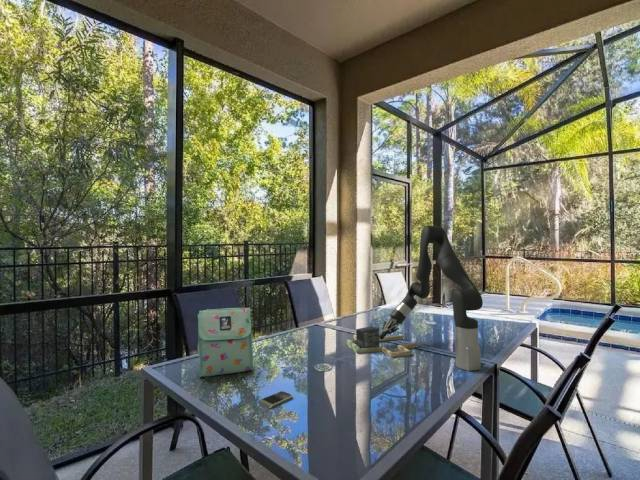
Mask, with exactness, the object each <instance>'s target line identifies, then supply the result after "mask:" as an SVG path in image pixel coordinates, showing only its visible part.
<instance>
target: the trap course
mask: <svg viewBox="0 0 640 480" xmlns="http://www.w3.org/2000/svg"><path fill="white" fill-rule="evenodd" d="M352 337H353V338H352V339H349V338H345V345H346V346H347V345H348V346H347V347H349V348H350V349H351V350H352V351H353V352H354V353H356V354H367V353H376V352H382V353H383V354H386V355H387V356H388V357H390V358H397V357H407V356H409V357H410V356H411V355H412V351H411V350H410V349H414V348H415V347H417V348H419V343H418V342H413V343H412V342H411V343H401V344H397V345H396V347H397V348H396V349H395V348H394V349H388V348H386V347H384V346H383V345H382V346H380V345H379V346H380V347H370V348H360V349H359V347H358V346H357V338H356V333H355V334H352ZM387 340H393V341H401V340H402V341H403V340H404V335H402V334H401V335H391V336H385V337H384V338H383V339H380V338H379V343H380V342H381V341H382V342H388V341H387ZM382 342H381V343H382Z"/></svg>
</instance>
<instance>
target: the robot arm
mask: <svg viewBox="0 0 640 480" xmlns="http://www.w3.org/2000/svg"><path fill="white" fill-rule="evenodd" d="M446 232H447V231H446V230H445V229H444V227H442V226H440V225H439V226H438V225H428V224H427V225H425V226H423V228H422V230H421V233H420V241H419V243H420V244H419V257H418V258H419V259H418V264H417V265H418V266H417V269H416V274H415V277H416V279H417V281H414V282H412V283H411V285H409V289H407V290H408V291H407V292H406V295H405V297H404V298H402V300H401V302H400V303H399V304H397V306H396V307H395V308H394V309H393V310H392V311H391V313H390V314H389V316H390V318H389V319H388V320H387V321H386V320H384V321H383V323H382V326H381V330H382V331H381V333H379V338H380V339H383V338H384V337H387V335H391V334H393V333H395V332H396V331H398V330H399V328H398V326H399V325H402V324H403V323H404V321H405V320H406V319H407V318H408V316H409V315H410V314H411V312H412V311H413V310H414V309H415V307H416V306H417V304H418V302H417V299H415V298H414V297H415V296H416V297H418V298H420V299H424V300H426V299H427V298H428V297H429V296H430V293H431V286H430V285H431V283H430V282H431V281H430V278H431V277H430V276H431V272H432V268H433V267H432V265H433V264H432V260H431V257H430V255H429V245H430V244H435V245H437V246H438V247H439V250H440V251H439V253H438V257H437V263H438V265H439V267H440V270H441V271H442V274H443V275H444V276H445V277H446V278H448V279H449V280H451V281H452V282H453V283H455V284H456V285H457V286H458V287H460V288H458V289H455V290H453V293H452V301H451V302H452V310H453V313H452V314H453V320H454V335H455V336H454V338H455V341H454V342H455V349H454V350H455V366H456V367H457V368H458V369H461V370H465V371H468V372H471V371H478V370H481V369H482V361H481V360H482V359H481V358H482V357H481V346H480V344H479V343H480V341H479V321H478V320H477V318H476V319H475V318H472V317H469V316H468V315H467V311H477V310H478V311H479V310H480V309H482V308H483V301H484V300H483V297H482V294H481V293H480V291H479V289H478V288H477V286H476V285H475V284H474V283H473V281H472V280H471V278H470V277H469V276H468V273H467V272H466V270H465V268H464V266H463V264H462V262H461V261H460V259H459V257H458V255H457V254H456V252H455V251H454V249H453V246H452V245H451V242H450V240H449V237H448V235H447V233H446Z"/></svg>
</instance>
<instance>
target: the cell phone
mask: <svg viewBox="0 0 640 480" xmlns="http://www.w3.org/2000/svg"><path fill="white" fill-rule="evenodd" d="M293 397H294V395H293V394H291V393H289V392H287V391H279V392H276V393H273V394H271V395H269V396H266V397H264V398H261V399H260V400H259V401H258V405H260V406H262V407H264V408H265V409H269V410H270V409H272V408H274V407H276V406H279V405H281V404H283V403H285V402H288V401H290V400H292V399H293Z"/></svg>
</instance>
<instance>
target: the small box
mask: <svg viewBox="0 0 640 480" xmlns="http://www.w3.org/2000/svg"><path fill="white" fill-rule="evenodd" d="M355 332H356V333H355V334H356V338H357V344H356V345H357V346H358V347H359V349H360V348H370V347H380V342H379V335H380V327H375V326H371V325H370V326H365V327H361V328H356V329H355Z"/></svg>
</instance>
